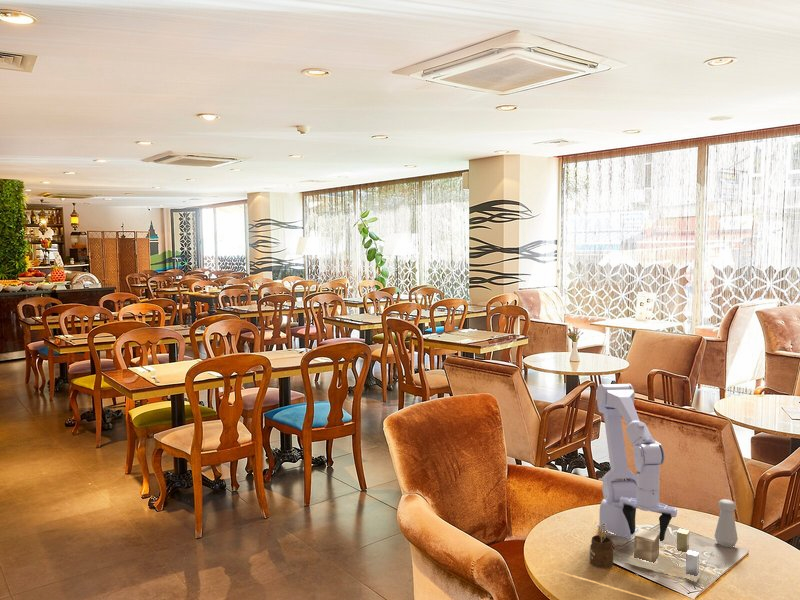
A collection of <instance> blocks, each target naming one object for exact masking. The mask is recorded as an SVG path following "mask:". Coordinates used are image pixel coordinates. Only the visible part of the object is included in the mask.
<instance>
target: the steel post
mask: <svg viewBox="0 0 800 600" xmlns="http://www.w3.org/2000/svg"><path fill="white" fill-rule="evenodd" d="M698 573H699V552H696V551H692V550H688V551H687V553H686V574H690V575H694V576H697V575H698Z"/></svg>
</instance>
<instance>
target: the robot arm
mask: <svg viewBox="0 0 800 600" xmlns="http://www.w3.org/2000/svg"><path fill="white" fill-rule="evenodd" d="M595 396H596V397H595V398H596V405H597V409H598V413H600V414H603V415H602V416H603V420H604V428H605V434H606V443H607V450H608V457H609V458H608V459H609V465H610V469H609V470H608V471H607V472H606V473H605V474H604V475H603V476H602V488H601V491H602V496H603V499H602V500H601V502H600V504H599V505H600V506H599V518H598V519H599V523H598V524H599V525H598V527H599V526H600V533H601V526H602V528H603V525H606V524H607V525H606V526H605V530H608V531H611V532H612V533H614V534H616V535H619V536H618V537H620V536H622V537H621V538H624V537H625V538H624V539H628V538H629V539H628V540H631V539H632V538H633V537H634V535H635V534H636V533H637V531H638V530H639V528H638V527H636V513H637V510H638V509H639V510H640V511H645V512H651V513H657V514H661V515H660V516H659V517H658V519H659V521H658V523H659V533H660V537H659V539H660V541H663V540H664V539H665V536H666V532H667V529H668V526H669V524H670V522H671V520H672V518H676V517H677V515H678V509H677V507H673V506H669V505H667V504H664V503H662V502H660V479H661V478H660V477H661V473H660V468H661V467H660V465H663V464H664V461H665V450H664V448H663V445H662V444H661V443H660V442H658V441H657V440H656V439H654V437H653V436H652V435H651V432H650V430H649V428H648V425H647V424H646V423H645V422H643V421H641V420H640V418H639V416H638V413H637V410H636V408H635V407H636V406H635V405H634V403H635V397H636V395H635V389H634V387H633V385H632V384H631V383H629V382H627V383H612V384H610V383H609V384H608V383H606V384H605V383H604V384H603V383H600V384H599V385H598V386H597V388H596V392H595ZM622 419H623V421H624V423H625V424H626V428H625V432H626V434H627V436H628V439H629V441H630V443H631V445H632V448H633V451H632V455H633V460H634V468H635V470H636V474H635V473H634V472H632V471H631V470H630V469H629V467H628V459H627V452H626V444H625V437H624V430H623V423H622ZM622 479H623V480H622ZM600 522H601V523H600ZM616 535H615V536H616ZM632 536H633V537H632ZM631 537H632V538H631ZM630 538H631V539H630Z"/></svg>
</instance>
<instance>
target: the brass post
mask: <svg viewBox="0 0 800 600" xmlns="http://www.w3.org/2000/svg"><path fill="white" fill-rule="evenodd" d="M676 542H677V550H678V551H682V552H686V553H687V551H688V550H689V545H690V530H686V529H683V528H678V530H677V531H676Z"/></svg>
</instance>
